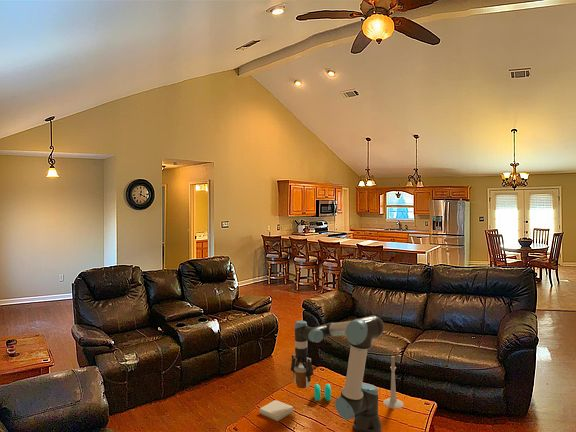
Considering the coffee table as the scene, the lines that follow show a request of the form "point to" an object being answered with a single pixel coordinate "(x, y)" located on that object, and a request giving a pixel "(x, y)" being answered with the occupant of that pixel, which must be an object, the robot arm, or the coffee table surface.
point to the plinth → (276, 410)
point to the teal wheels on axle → (318, 392)
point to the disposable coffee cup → (300, 376)
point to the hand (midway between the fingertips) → (302, 384)
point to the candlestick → (393, 390)
